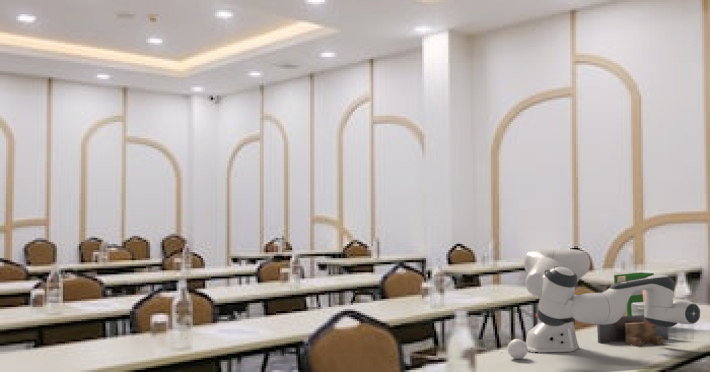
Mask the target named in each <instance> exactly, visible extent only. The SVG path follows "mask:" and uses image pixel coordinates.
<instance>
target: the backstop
mask: <svg viewBox="0 0 710 372" xmlns="http://www.w3.org/2000/svg"><path fill="white" fill-rule="evenodd" d="M640 322H644V315H634V316H622V317H621V318H620V319H619V320H618V321H617V322H615V323H613V324H605V325H599V324H596V329H597V330H596V331H597V343H599V344H606V343H607V344H608V343H610V344H611V343H622V342H623V343H624V342H625V343H626V332H625V323H640ZM655 326H656V335H658V336H662V337H663V340H668V339H669V327H662V326H657V325H655Z"/></svg>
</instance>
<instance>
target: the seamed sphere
mask: <svg viewBox="0 0 710 372" xmlns="http://www.w3.org/2000/svg"><path fill="white" fill-rule="evenodd" d="M501 350H504V351H505V348H503V349H501ZM528 352H529V351H528V348H527V345H526V341H524V340H522V339H521V338H520V339H519V338H514V339H512V340H510V342H509V343H508V345H507V353H508V354H509V356H510V357H511V358H512V359H514V360H521V359H523V358H525V357H526V356H527V354H528Z"/></svg>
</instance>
